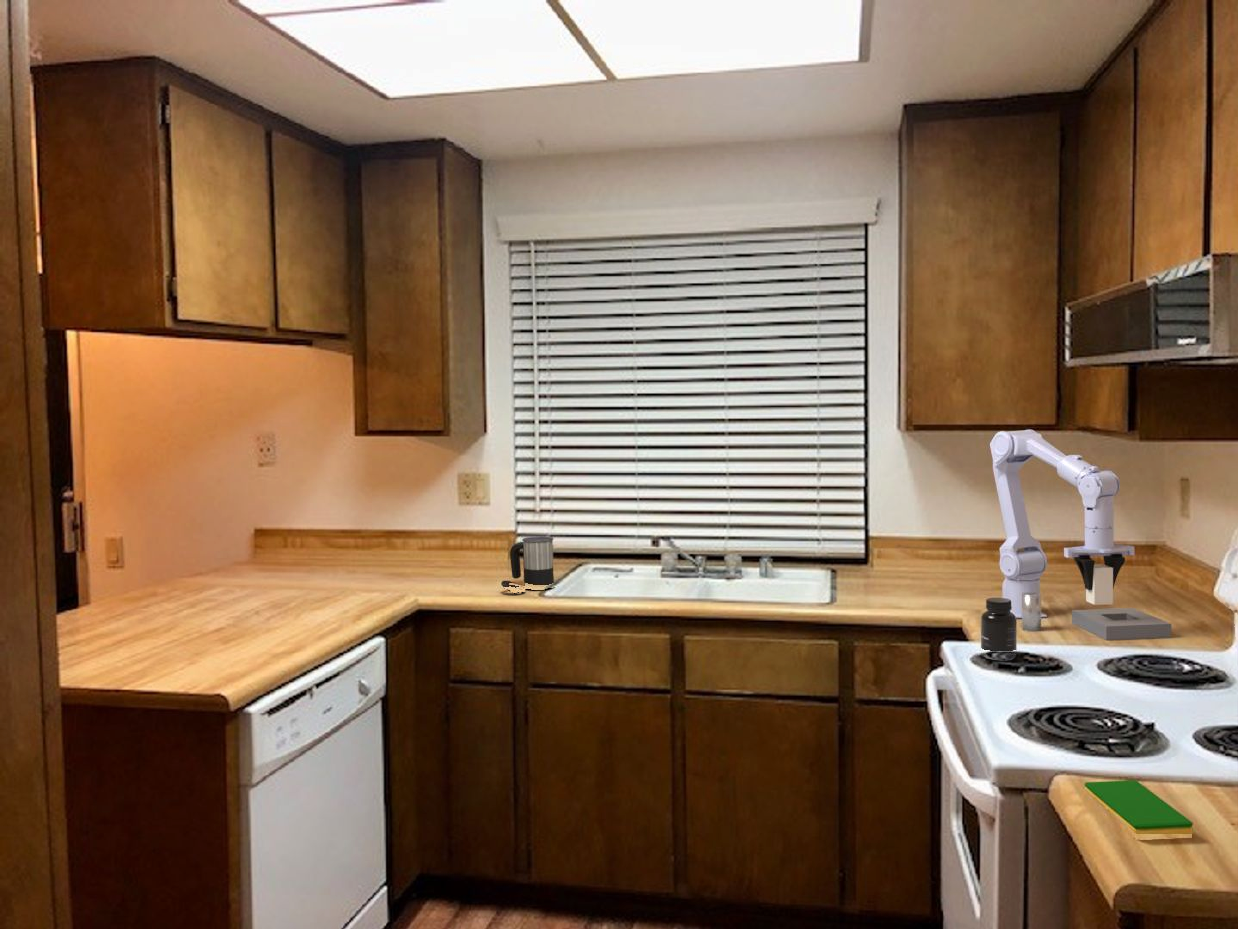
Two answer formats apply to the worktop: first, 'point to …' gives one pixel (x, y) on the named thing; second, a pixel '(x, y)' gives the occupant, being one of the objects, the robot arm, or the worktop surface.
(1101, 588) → the square peg
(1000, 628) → the supplement bottle
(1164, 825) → the dish sponge
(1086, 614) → the socket plate
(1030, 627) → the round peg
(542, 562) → the milk frother
